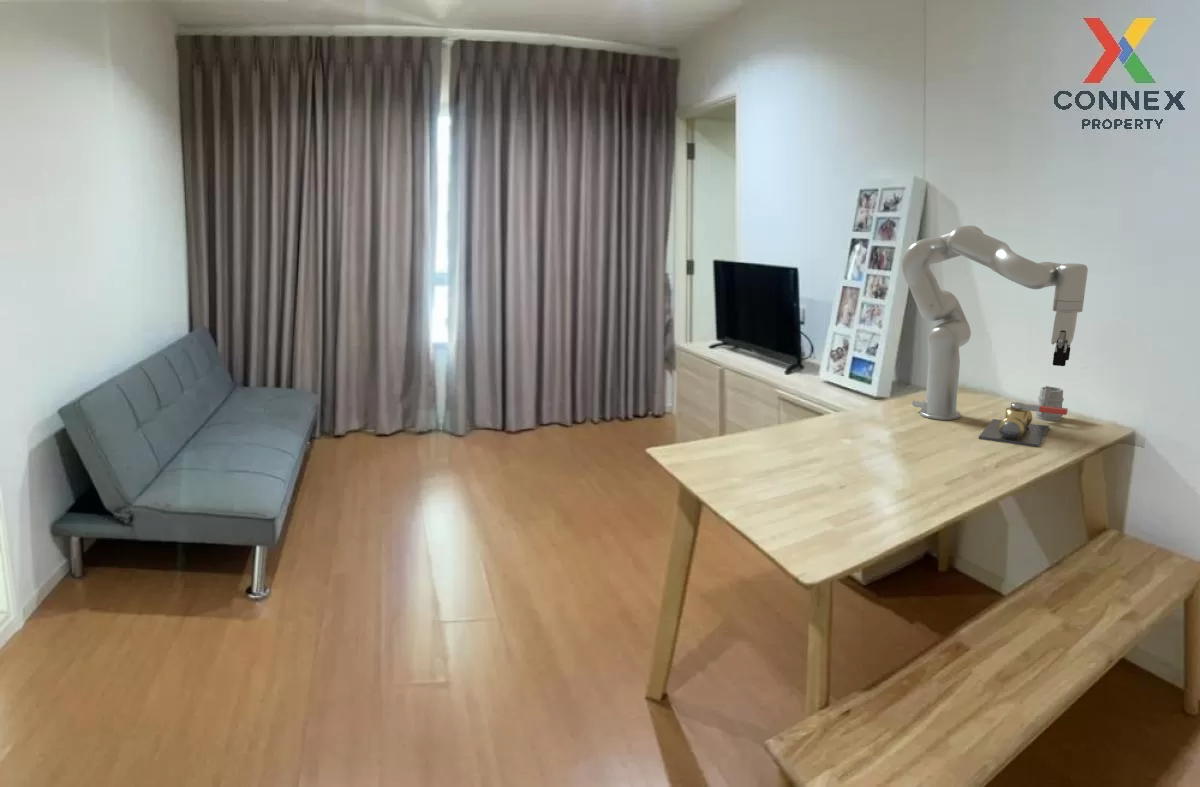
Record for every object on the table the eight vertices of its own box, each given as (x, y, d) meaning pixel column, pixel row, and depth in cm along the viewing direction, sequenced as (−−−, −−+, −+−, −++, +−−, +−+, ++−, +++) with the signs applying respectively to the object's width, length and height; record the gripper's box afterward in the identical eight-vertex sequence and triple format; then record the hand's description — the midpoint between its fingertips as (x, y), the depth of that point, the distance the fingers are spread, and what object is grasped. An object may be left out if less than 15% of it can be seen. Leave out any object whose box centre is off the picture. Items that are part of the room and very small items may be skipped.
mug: (1064, 417, 244) (1069, 381, 241) (1055, 425, 236) (1059, 388, 233) (1038, 413, 249) (1042, 378, 246) (1028, 421, 241) (1032, 385, 238)
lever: (1009, 409, 227) (1010, 404, 227) (1011, 406, 230) (1012, 401, 229) (1065, 415, 218) (1066, 410, 218) (1067, 413, 221) (1067, 407, 221)
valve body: (978, 438, 226) (980, 414, 224) (992, 421, 242) (995, 398, 241) (1038, 447, 216) (1041, 422, 214) (1049, 428, 233) (1052, 405, 231)
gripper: (1056, 301, 228) (1050, 356, 232) (1049, 309, 214) (1042, 366, 219) (1085, 303, 223) (1078, 358, 228) (1079, 310, 210) (1072, 369, 214)
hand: (1060, 362), depth 223 cm, fingers open, 9 cm apart
